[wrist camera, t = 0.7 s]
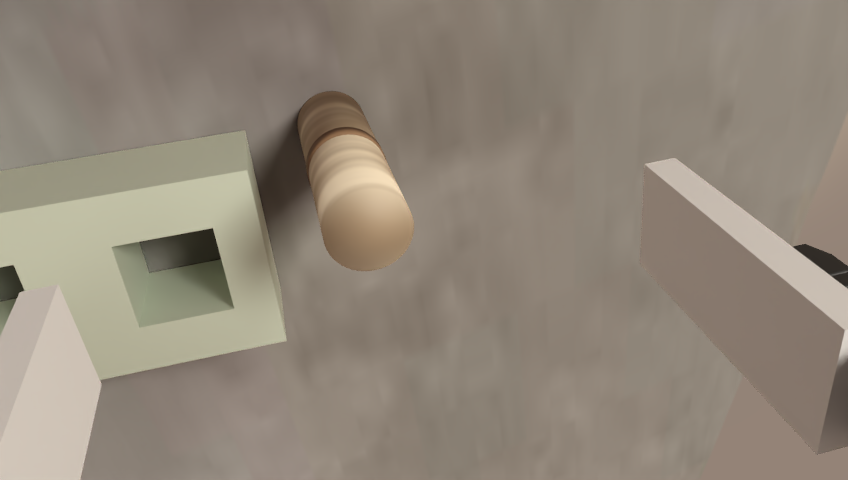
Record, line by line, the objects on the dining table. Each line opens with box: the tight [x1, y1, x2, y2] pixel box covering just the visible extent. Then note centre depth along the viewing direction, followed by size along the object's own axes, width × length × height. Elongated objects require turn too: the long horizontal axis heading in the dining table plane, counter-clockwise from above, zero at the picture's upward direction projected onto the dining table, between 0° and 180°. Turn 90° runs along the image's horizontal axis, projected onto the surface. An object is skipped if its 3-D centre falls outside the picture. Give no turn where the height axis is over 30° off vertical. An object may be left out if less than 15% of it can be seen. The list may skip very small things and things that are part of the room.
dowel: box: [297, 91, 414, 271], centre depth 39 cm, size 4×4×14 cm
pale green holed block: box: [0, 130, 286, 380], centre depth 42 cm, size 11×20×6 cm, turn 96°
